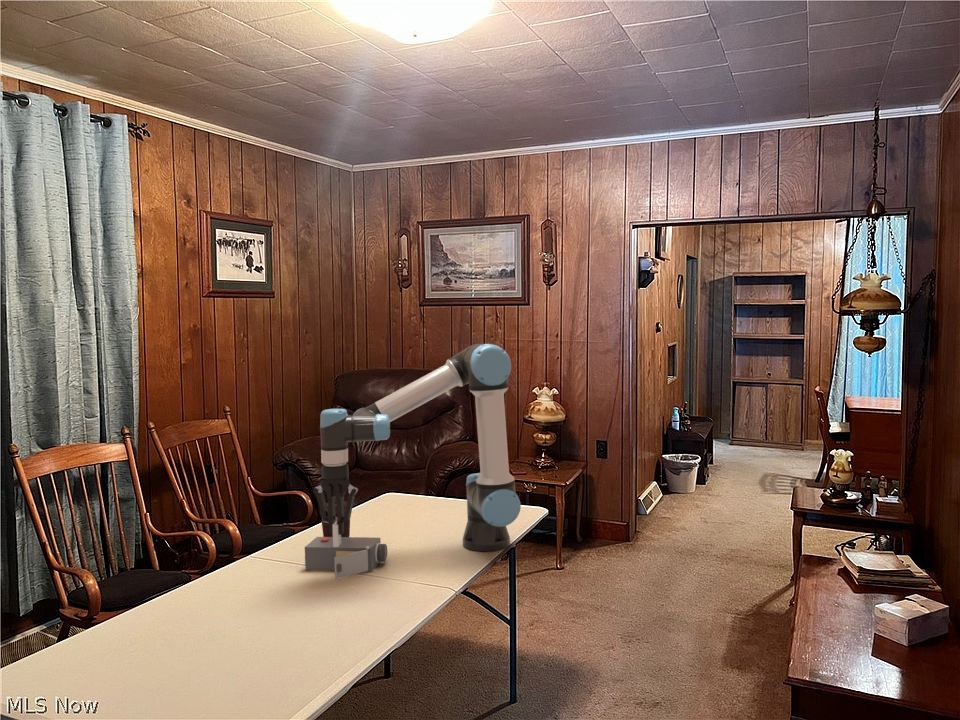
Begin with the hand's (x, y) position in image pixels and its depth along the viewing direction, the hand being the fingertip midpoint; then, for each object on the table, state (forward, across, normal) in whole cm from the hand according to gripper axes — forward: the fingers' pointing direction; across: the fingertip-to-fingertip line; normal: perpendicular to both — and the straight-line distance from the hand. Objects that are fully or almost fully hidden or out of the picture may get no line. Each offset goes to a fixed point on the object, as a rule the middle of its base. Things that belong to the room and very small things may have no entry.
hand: (337, 545), depth 205 cm
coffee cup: (+9, +8, -23) cm, 26 cm away
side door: (+8, -5, +1) cm, 9 cm away
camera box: (+9, 0, -8) cm, 12 cm away
